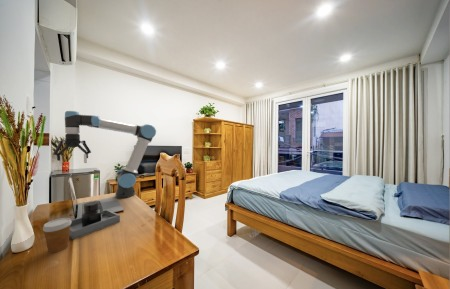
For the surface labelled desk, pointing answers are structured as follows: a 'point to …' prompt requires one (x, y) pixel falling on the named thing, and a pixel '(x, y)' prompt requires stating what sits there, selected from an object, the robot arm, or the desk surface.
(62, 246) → the disposable coffee cup
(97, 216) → the ink bottle
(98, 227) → the charcoal bin
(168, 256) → the desk surface
